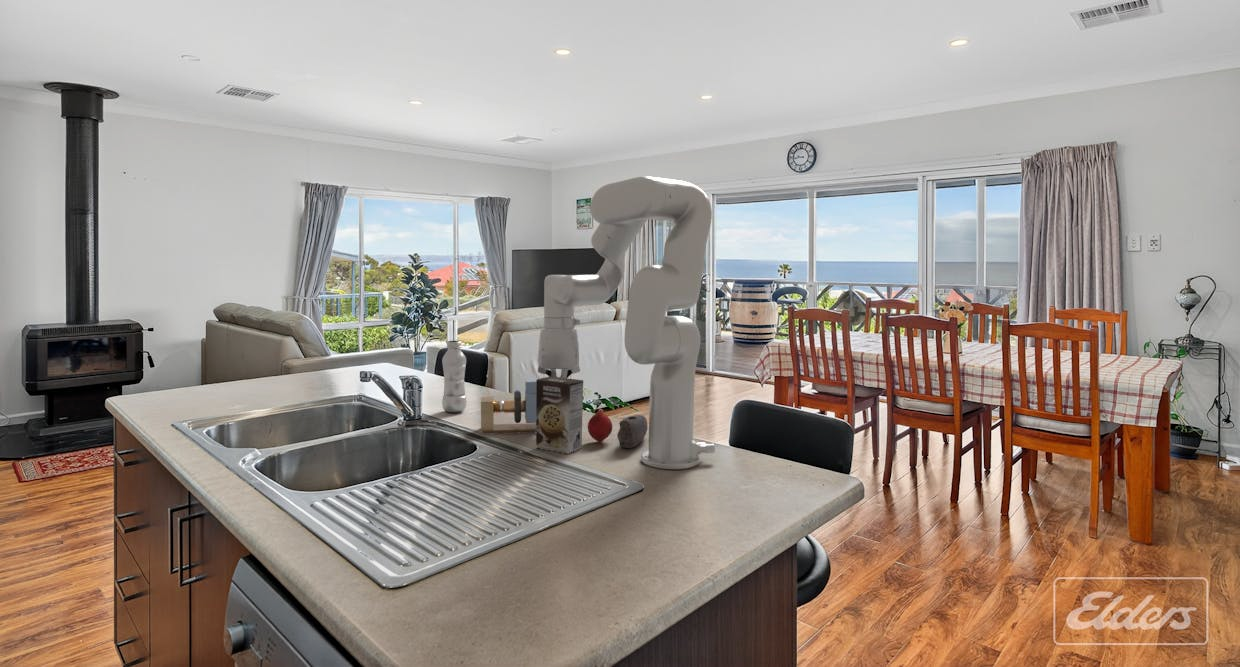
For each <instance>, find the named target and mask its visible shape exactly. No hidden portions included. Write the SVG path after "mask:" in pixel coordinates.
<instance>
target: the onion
mask: <svg viewBox="0 0 1240 667" xmlns="http://www.w3.org/2000/svg"><path fill="white" fill-rule="evenodd" d="M612 431H613V423H612V420H611V419H610V418H609V416H608V415H607V414H606V413H604V409H602V408H600V409H598V410H597V412H596V413H595V414H593V415H592V417H591V418H590V419H589V420H588V424H587V432H588V434H589V435H590V437H591V438H592V439H593V440H595V441H597V443H603V441H604V440H606V439H607V438H608V437H609V436H610V435H611V433H612Z"/></svg>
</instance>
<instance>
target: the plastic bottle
mask: <svg viewBox="0 0 1240 667" xmlns="http://www.w3.org/2000/svg"><path fill="white" fill-rule="evenodd" d="M461 344H462V341H461V340H447V341H446V348H447V351H446V352H445V353H444V354H443V356H442V359H441V360H442V362H441V363H442V369H443V370H442V371H443V378H444V381H443V383H444V386H443V395H442V400H441V401H442V402H441V404H442V409H443V411H445V412H449V413H453V414H454V413H459V412H463V411H464V410H465V409H466V408H467V396H466V391H465V378H466V377H465V375H466V365H467V356H466V355H465V354H464V352H462V350H461V349H462V345H461Z"/></svg>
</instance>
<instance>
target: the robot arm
mask: <svg viewBox="0 0 1240 667" xmlns="http://www.w3.org/2000/svg"><path fill="white" fill-rule="evenodd" d="M589 208H590V214H591V217H592V219H594V221H596V222H597V223H598V224H599V225H598V226H597V228H596V229H595V231H594V232H593V234H592V235H591V238H590V242H591V245H592V247H593V248H594V250H595V251H596V253H598V255H600V257H602V258H604V262H603V263H602V266H600V269H599V270H598V271H597V273H595V274H549V275H546V276H545V277H544V278H545V279H544V286H543V288H544V291H543V293H544V294H543V295H544V296H543V297H544V298H543V299H544V300H543V302H544V303H543V315H544V317H543V321H544V322H543V328H541V329H540V333H539V334H540V335H539V342H538V354H537V355H538V358H537V359H538V367H537V373H539V374H542V375H547V377H550V376H553V377H558V375H557V371H556V370H561V372H560V377H561V378H569V377H570V376H571V375H574V374H577V373H580V372H581V369H580V346H579V345H580V344H579V336H578V329H577V328H575V326H577V325H580V323H581V320H580V319H577V318H576V317H575V307H582V306H598V305H602V304H604V303H606V302H607V301H608V300H609V299H611V297H613V295H614V294H615V292H616V291H617V289H618V288H619V287H620V285H621V283H622V281H623V279H624V275H625V273H624V272H625V259H624V255H625V253H626V252H627V251H628V249H629V247H630V246H631V245H632V243H633V242H634V240H635V239H636V237H637V236H638V234H639V233H640V231H641V229H642V228H643V227H644V225H645V224H646V222H647V220H654V221H670V222H672V223H674V225H673V227H672V228H671V230H670V231H669V233H668V235H667V237H666V239H665V243H664V247H663V257H662V262H661V264H650V265H646V266H644V267H643V268H641V269H639V270H638V271H637V272H636V274H635V275H634V277H633V279H632V281H631V284H630V287H629V292H628V299H627V309H626V318H625V328H624V347H625V351H626V353H627V356H628V357H629V358H630V360H632V361H633V362H634V363H636V364H639V365H653V369H652V372H651V375H650V382H649V406H648V407H649V409H648V411H649V413H648V415H649V417H648V418H649V419H648V450H645V451H643V452H642V453H641V456H640V457H641V460H640V461H641V462H642V463H643V464H644V465H647V466H649V467H652V468H657V469H662V470H663V469H664V470H665V469H666V470H686V469H690V468H693V467H696V466H698V465H699V464H700V460H701V459H700V455H701V454H703V453H705V454H714V453H715V450H716V449H715V445H714V443H706V442H704V441H703V442H696V441H695V440H694V418H695V417H694V416H695V413H694V412H695V411H694V410H695V386H696V384H695V383H696V369H697V362H698V357H699V353H700V348H701V333H700V330H699V327H698V326H697V324H696V323H695V322H694V321H693V320H692V319H691V318H689V317H686V316H682V315H666V314H667V312H676V311H685V310H689V309H691V308H693V307H695V306H696V304H697V302H698V301H699V297H700V294H701V293H700V292H701V286H702V281H703V280H702V279H703V273H704V272H703V271H704V264H705V257H706V256H705V255H706V248H707V244H708V237H709V233H710V230H711V226H712V225H711V224H712V220H713V218H712V217H713V214H712V213H713V212H712V205H711V202H710V199H709V197H708V195H707V194H706V192H704V191H703V190H702V189H701V188H700V187H698V186H697V185H695V184H693V183H691V182H687V181H684V180H679V179H678V180H676V179H673V178H672V179H671V178H663V177H655V176H643V175H642V176H637V177H633V178H628V179H624V180H621V181H620V180H619V181H616V182H611V183H608V184H605V185H603V186H601V187H600V188H598V189H597V190H596V191H595V192H594V194H593V195H592V198H591V201H590V205H589Z"/></svg>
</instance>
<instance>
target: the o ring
mask: <svg viewBox="0 0 1240 667" xmlns="http://www.w3.org/2000/svg"><path fill="white" fill-rule="evenodd" d="M513 394H514V397H513V399H514V400H513V401H515V413H513V415H514V416H513V418H514V423H515V424H520V423H521V420H522V412H521V401H522V394H521V391H520V390H515V391H514V393H513Z"/></svg>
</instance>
